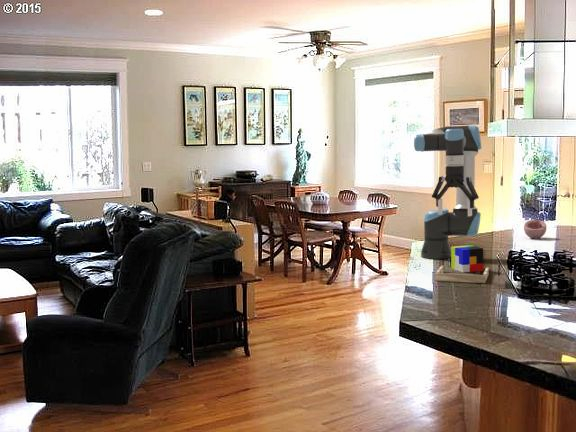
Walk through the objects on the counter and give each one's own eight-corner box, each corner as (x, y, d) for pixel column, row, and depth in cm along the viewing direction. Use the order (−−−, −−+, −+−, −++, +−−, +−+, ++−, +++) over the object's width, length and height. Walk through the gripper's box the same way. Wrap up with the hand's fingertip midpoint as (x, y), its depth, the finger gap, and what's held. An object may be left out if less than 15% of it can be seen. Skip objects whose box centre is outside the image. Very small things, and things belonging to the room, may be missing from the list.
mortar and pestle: (524, 240, 372) (524, 219, 371) (523, 236, 383) (523, 217, 382) (547, 240, 368) (547, 219, 367) (545, 237, 380) (545, 217, 378)
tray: (441, 272, 289) (441, 265, 289) (488, 274, 282) (488, 267, 282) (434, 280, 273) (434, 273, 272) (485, 283, 265) (485, 275, 265)
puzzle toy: (462, 272, 288) (462, 249, 287) (451, 268, 298) (451, 246, 296) (483, 270, 291) (483, 248, 289) (471, 266, 300) (471, 245, 299)
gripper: (423, 165, 284) (424, 214, 287) (479, 166, 268) (479, 217, 271) (431, 164, 290) (432, 212, 292) (486, 165, 274) (486, 215, 277)
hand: (454, 215), depth 282 cm, fingers open, 13 cm apart
